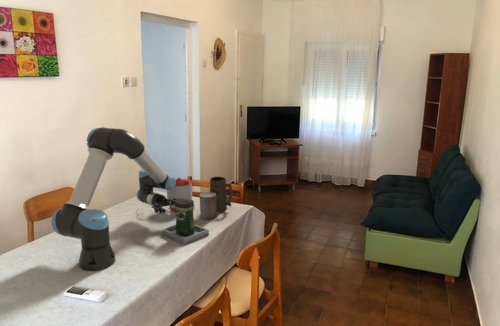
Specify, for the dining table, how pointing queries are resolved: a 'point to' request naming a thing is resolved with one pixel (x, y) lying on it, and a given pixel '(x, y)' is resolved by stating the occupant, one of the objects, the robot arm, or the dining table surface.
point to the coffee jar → (184, 217)
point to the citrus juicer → (180, 191)
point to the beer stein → (221, 192)
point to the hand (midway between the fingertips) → (180, 209)
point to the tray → (172, 234)
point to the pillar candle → (208, 205)
